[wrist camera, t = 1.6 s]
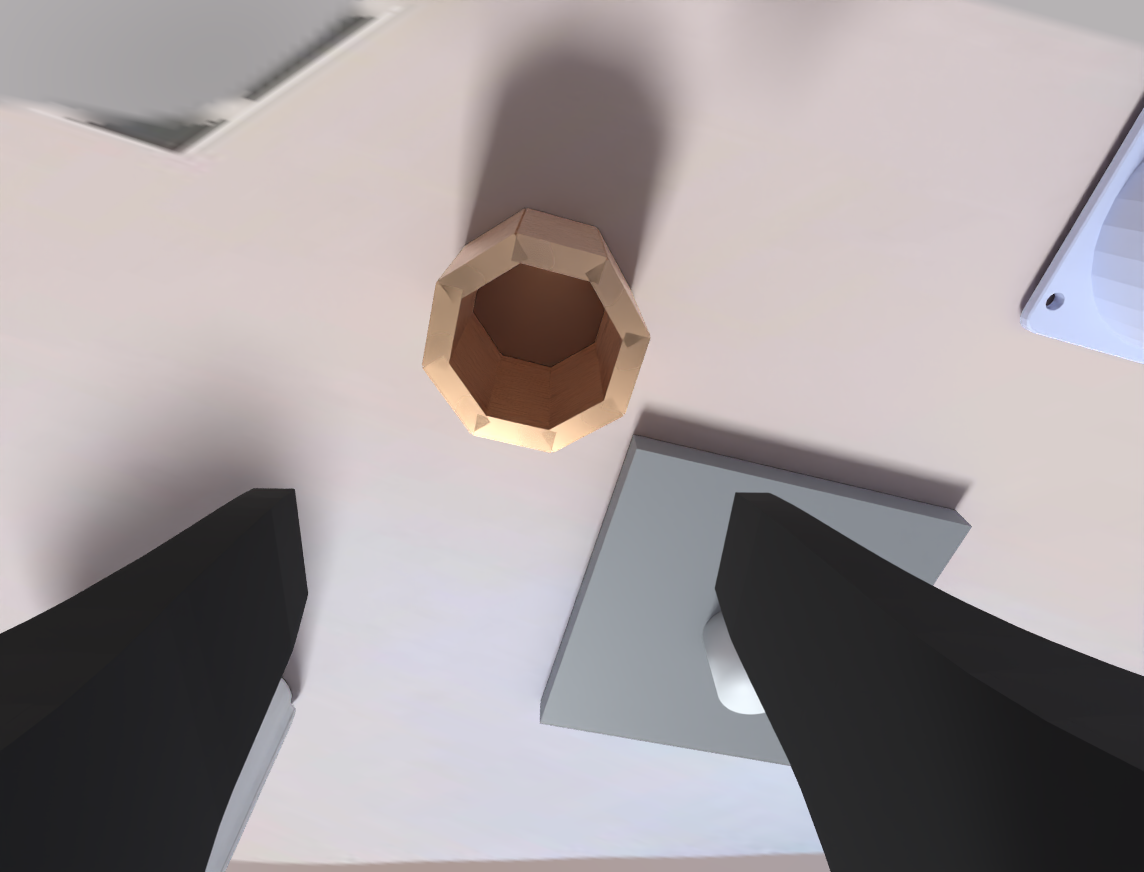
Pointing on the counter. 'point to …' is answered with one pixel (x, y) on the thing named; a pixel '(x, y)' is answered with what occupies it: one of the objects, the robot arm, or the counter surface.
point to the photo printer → (252, 777)
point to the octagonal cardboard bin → (520, 388)
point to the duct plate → (700, 597)
